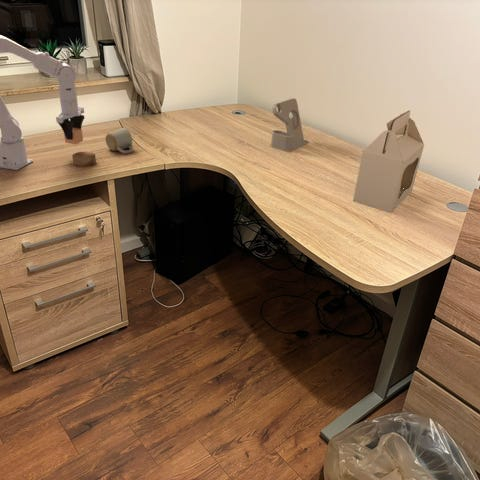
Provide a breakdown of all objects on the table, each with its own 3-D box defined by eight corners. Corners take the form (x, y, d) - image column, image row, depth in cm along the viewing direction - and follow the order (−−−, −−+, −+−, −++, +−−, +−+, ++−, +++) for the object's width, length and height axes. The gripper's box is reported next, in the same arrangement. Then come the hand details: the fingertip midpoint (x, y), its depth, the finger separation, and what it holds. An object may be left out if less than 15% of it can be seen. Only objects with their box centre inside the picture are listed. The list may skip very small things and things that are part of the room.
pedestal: (88, 168, 169) (87, 160, 167) (68, 165, 170) (67, 157, 169) (100, 161, 175) (99, 153, 174) (81, 157, 177) (80, 150, 175)
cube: (76, 144, 172) (74, 132, 170) (65, 142, 173) (63, 130, 170) (83, 140, 176) (81, 128, 173) (72, 138, 176) (70, 127, 174)
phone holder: (288, 152, 193) (293, 109, 184) (268, 146, 198) (271, 103, 189) (309, 142, 205) (315, 101, 196) (290, 137, 210) (294, 96, 201)
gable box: (376, 180, 173) (393, 104, 158) (412, 191, 166) (433, 112, 152) (352, 201, 157) (368, 118, 142) (390, 213, 150) (411, 127, 136)
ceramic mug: (104, 148, 186) (103, 129, 182) (121, 144, 191) (120, 125, 187) (121, 156, 180) (120, 137, 176) (138, 151, 186) (137, 132, 182)
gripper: (66, 106, 159) (71, 144, 166) (89, 96, 172) (93, 132, 178) (48, 103, 161) (54, 141, 168) (72, 94, 173) (77, 130, 180)
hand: (73, 137), depth 173 cm, fingers closed on cube, 4 cm apart
